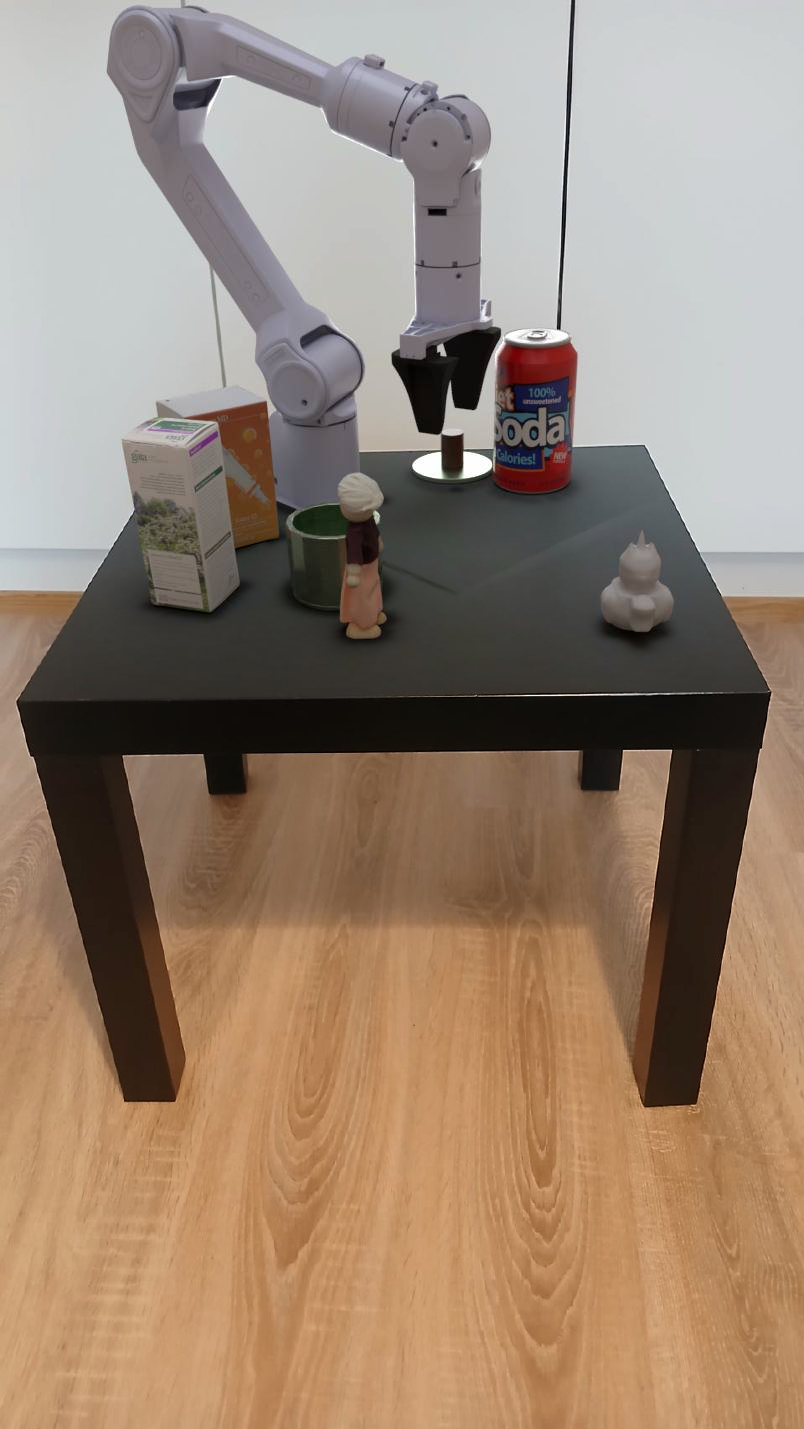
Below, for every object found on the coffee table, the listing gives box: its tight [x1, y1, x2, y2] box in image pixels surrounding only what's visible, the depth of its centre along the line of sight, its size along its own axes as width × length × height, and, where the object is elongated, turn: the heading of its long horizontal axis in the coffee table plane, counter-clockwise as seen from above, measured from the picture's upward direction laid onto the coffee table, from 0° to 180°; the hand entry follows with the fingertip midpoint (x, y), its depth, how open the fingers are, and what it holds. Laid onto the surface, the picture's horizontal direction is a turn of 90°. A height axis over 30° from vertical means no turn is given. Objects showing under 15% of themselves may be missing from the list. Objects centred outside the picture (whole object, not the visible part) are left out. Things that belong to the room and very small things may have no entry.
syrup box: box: [120, 416, 241, 613], centre depth 85 cm, size 6×6×14 cm
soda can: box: [492, 327, 579, 495], centre depth 104 cm, size 8×8×15 cm
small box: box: [155, 384, 280, 549], centre depth 96 cm, size 8×6×13 cm
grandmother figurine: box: [338, 472, 387, 640], centre depth 80 cm, size 8×4×13 cm, turn 178°
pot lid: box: [411, 428, 493, 485], centre depth 110 cm, size 8×8×5 cm
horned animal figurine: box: [600, 529, 675, 633], centre depth 80 cm, size 5×7×8 cm
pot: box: [285, 502, 384, 612], centre depth 88 cm, size 8×8×6 cm
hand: (448, 420), depth 97 cm, fingers open, 7 cm apart
